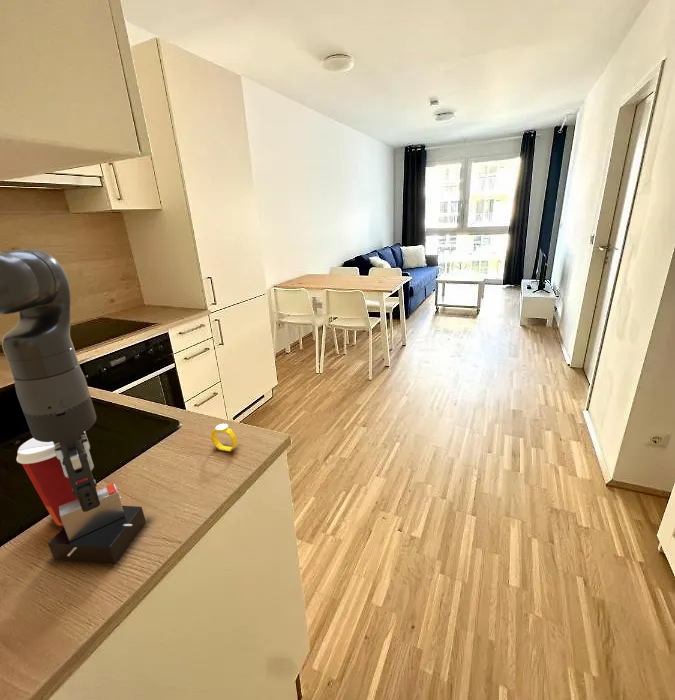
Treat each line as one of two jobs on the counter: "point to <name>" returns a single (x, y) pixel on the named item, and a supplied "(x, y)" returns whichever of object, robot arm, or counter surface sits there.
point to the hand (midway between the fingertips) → (87, 492)
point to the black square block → (100, 540)
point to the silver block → (91, 513)
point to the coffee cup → (46, 475)
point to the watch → (225, 428)
